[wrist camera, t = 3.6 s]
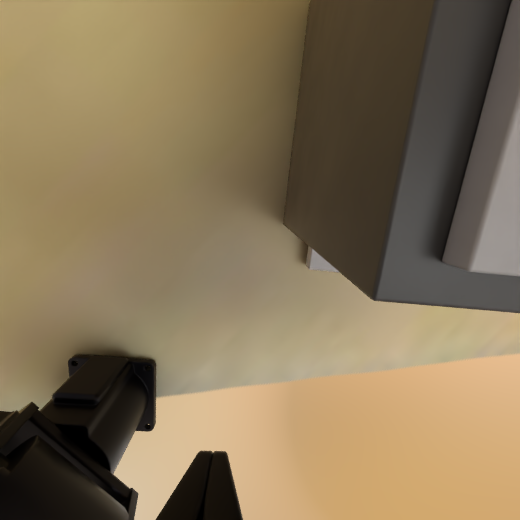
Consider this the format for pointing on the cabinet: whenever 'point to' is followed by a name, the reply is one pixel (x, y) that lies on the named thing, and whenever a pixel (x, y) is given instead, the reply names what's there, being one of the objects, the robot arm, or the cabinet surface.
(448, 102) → the grey cube with panel
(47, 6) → the cabinet surface
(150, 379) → the robot arm
